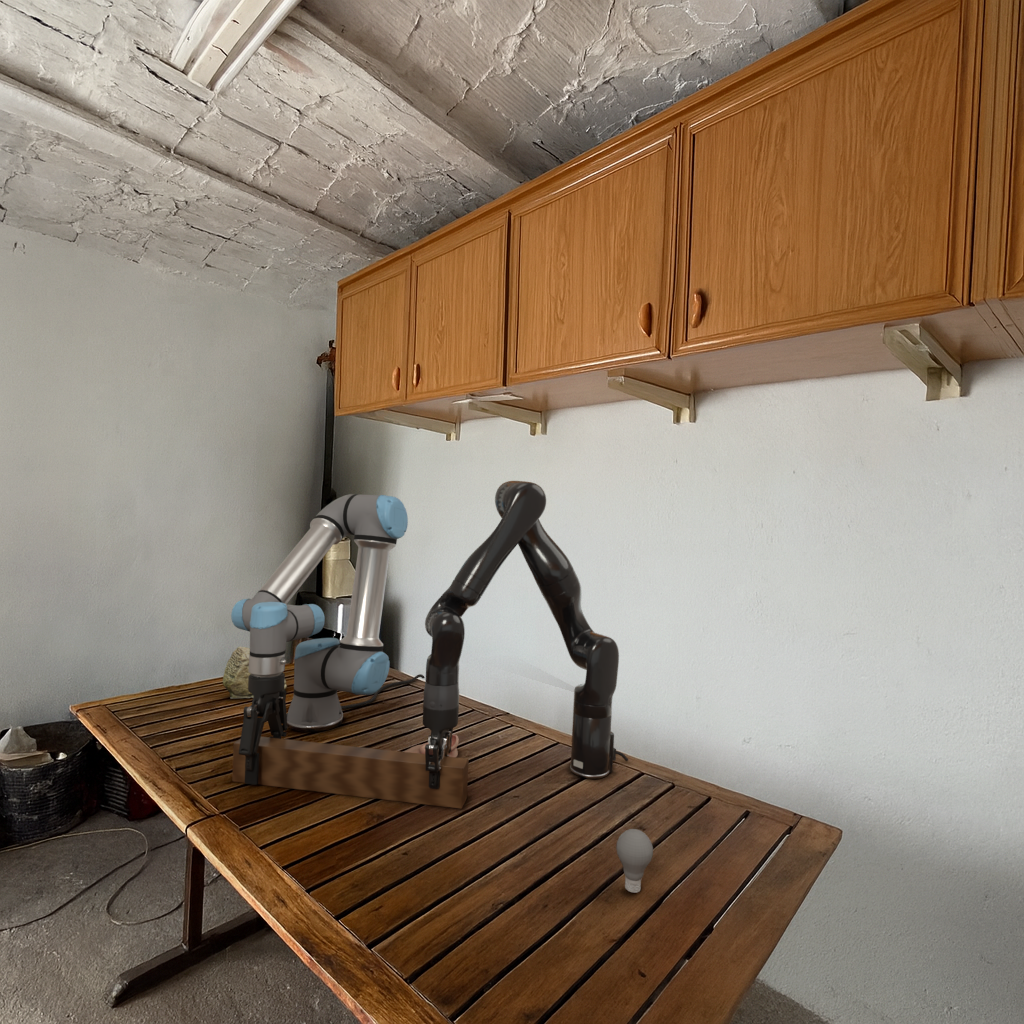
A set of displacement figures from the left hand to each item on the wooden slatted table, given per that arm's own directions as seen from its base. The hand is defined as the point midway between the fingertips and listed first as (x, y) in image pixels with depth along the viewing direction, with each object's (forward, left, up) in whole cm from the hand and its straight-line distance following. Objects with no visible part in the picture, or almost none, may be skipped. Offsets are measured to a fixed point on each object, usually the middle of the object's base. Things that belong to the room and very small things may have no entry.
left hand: (263, 774), depth 141 cm
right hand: (-20, +34, +3) cm, 40 cm away
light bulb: (-20, +81, -1) cm, 83 cm away
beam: (-10, +17, -1) cm, 20 cm away
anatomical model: (-35, +17, -1) cm, 39 cm away
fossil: (-29, -56, -1) cm, 63 cm away
